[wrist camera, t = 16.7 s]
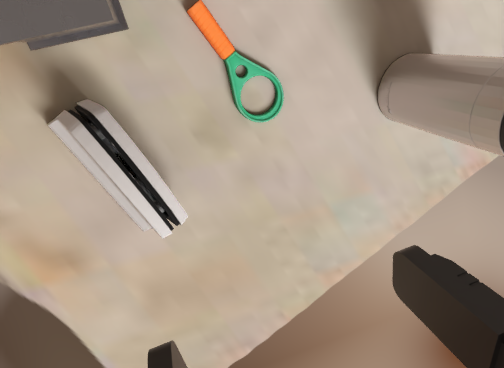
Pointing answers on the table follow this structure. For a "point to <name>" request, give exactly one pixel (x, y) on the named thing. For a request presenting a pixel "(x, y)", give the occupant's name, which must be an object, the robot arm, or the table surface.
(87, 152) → the white piece
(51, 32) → the box
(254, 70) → the magnifying glass
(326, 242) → the table surface
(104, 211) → the table surface
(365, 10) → the table surface
